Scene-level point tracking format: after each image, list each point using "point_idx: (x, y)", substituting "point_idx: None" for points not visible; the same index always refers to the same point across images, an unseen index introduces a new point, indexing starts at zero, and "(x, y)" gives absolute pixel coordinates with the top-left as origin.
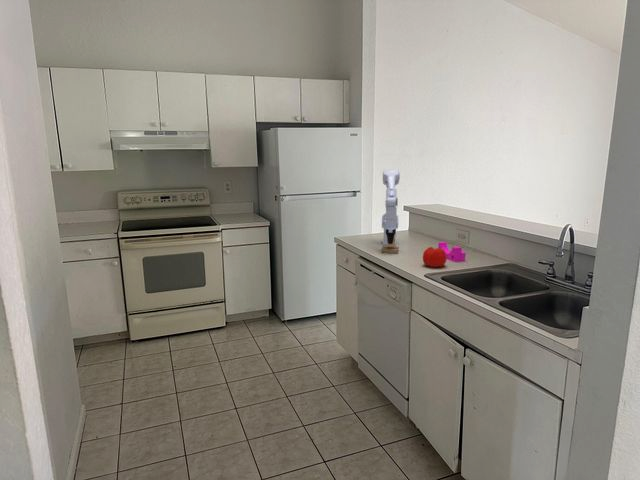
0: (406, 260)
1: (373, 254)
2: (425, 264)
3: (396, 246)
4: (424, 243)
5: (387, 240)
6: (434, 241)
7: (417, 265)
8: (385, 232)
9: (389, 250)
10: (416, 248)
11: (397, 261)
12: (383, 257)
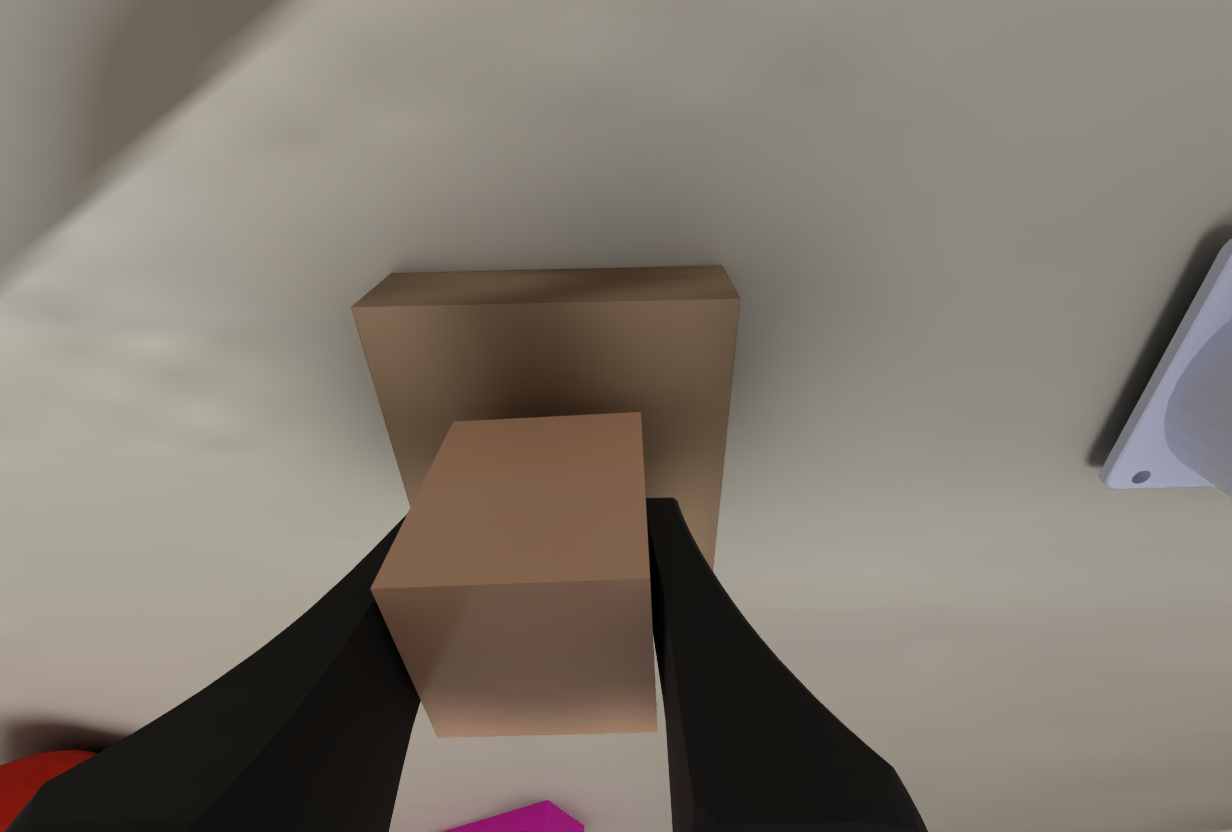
0: (173, 608)
1: (271, 86)
2: (36, 753)
3: (707, 543)
4: (1136, 734)
5: (402, 544)
6: (1207, 794)
7: (30, 688)
8: (34, 818)
9: (401, 445)
10: (863, 679)
11: (40, 526)
12: (139, 327)
